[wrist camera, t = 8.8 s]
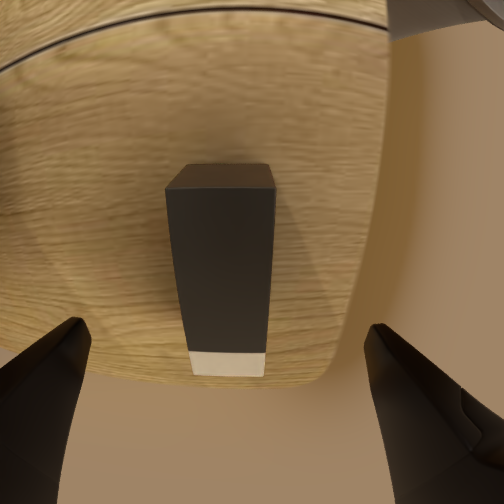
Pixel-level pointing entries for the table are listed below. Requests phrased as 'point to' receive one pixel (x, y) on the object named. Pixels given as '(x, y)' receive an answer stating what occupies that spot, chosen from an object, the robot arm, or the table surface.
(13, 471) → the robot arm
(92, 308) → the table surface
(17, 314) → the table surface
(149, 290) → the table surface
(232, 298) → the black rubber eraser
